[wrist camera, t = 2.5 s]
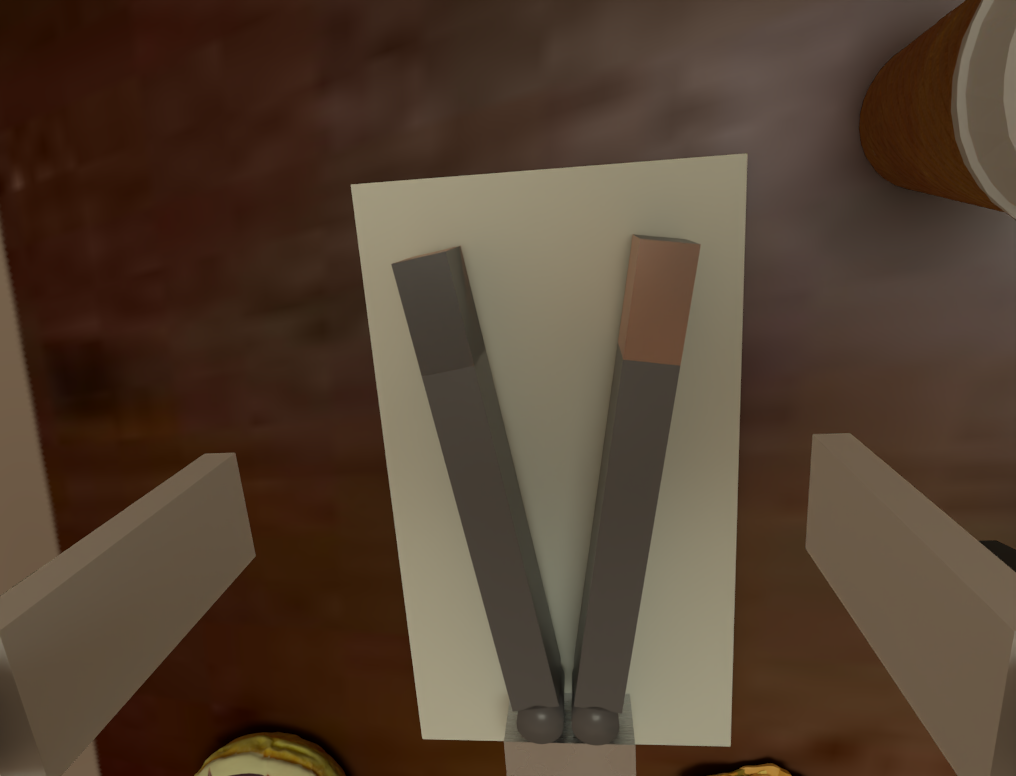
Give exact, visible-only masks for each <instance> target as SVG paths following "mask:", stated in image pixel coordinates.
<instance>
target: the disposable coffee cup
mask: <svg viewBox="0 0 1016 776" xmlns="http://www.w3.org/2000/svg"><path fill="white" fill-rule="evenodd" d="M859 131H860V138H861V144H862V147H863V150H864V153H865V155H866V158H867V159H868V160H869V162H870V163H871V165H872V166H873V168H874V169H875V171H876V172H878V173H879V174H880V175H881V176H882V177H883V178H884V179H886V180H887V181H889V182H891V183H892V184H894V185H896V186H899V187H902V188H905V189H909V190H914V191H919V192H923V193H927V194H931V195H935V196H939V197H944V198H948V199H951V200H955V201H960V202H965V203H968V204H973V205H977V206H980V207H985V208H989V209H994V210H998V211H1002V212H1006V213H1007V214H1008V215H1010V216H1011V217H1012V218H1014V219H1015V220H1016V0H966V1H964V2H963V3H962V4H961V5H959V6H958V7H957V8H955V9H954V10H953V11H951V12H950V13H948V14H947V15H946V16H945V17H943V18H942V19H940V20H939V21H938V22H937V23H936V24H935V25H934V26H932V27H931V28H930V29H929V30H927V31H926V32H924V33H923V34H922V35H921V36H919V37H918V38H917V39H916V40H914V41H913V42H912V43H910V44H909V45H908V46H907V47H905V48H904V49H903V50H901V51H900V52H899V53H897V54H896V55H895V56H893V57H892V58H891V59H890V60H889V61H888V62H887V63H886V64H885V65H884V66H883V68H882V69H881V70H880V71H879V73H878V74H877V76H876V77H875V79H874V80H873V82H872V84H871V85H870V87H869V89H868V91H867V93H866V96H865V98H864V101H863V105H862V109H861V113H860V126H859Z"/></svg>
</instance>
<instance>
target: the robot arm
mask: <svg viewBox="0 0 1016 776" xmlns="http://www.w3.org/2000/svg"><path fill="white" fill-rule="evenodd" d="M805 549H806V550H807V552H808V553H809V554H810V556H811V557H812V559H813V560H814V562H815V563H816V565H817V566H818V568H819V569H820V571H821V572H822V574H823V575H824V577H825V578H826V580H827V581H828V583H829V584H830V586H831V587H832V589H833V590H834V592H835V593H836V595H837V596H838V598H839V599H840V601H841V602H842V604H843V605H844V607H845V608H846V610H847V611H848V613H849V614H850V616H851V617H852V619H853V620H854V622H855V623H856V625H857V626H858V628H859V629H860V631H861V632H862V634H863V635H864V637H865V638H866V640H867V641H868V643H869V644H870V646H871V647H872V649H873V650H874V652H875V653H876V655H877V656H878V658H879V659H880V661H881V662H882V664H883V665H884V667H885V668H886V669H887V671H888V672H889V674H890V675H891V677H892V678H893V680H894V681H895V683H896V684H897V686H898V687H899V689H900V690H901V692H902V693H903V695H904V696H905V698H906V699H907V701H908V702H909V704H910V705H911V707H912V708H913V710H914V711H915V713H916V714H917V716H918V717H919V719H920V720H921V722H922V723H923V725H924V726H925V728H926V729H927V731H928V732H929V734H930V735H931V737H932V738H933V740H934V741H935V743H936V744H937V746H938V747H939V749H940V750H941V752H942V753H943V755H944V756H945V758H946V759H947V761H948V762H949V764H950V765H951V767H952V768H953V770H954V771H955V773H956V774H957V776H1016V550H1015V549H1013V548H1011V547H1009V546H1007V545H1004V544H1002V543H1000V542H998V541H978V540H977V539H975V538H974V537H973V536H972V535H971V534H969V533H968V532H967V531H966V530H965V529H963V528H962V527H961V526H960V525H959V524H958V523H956V522H955V521H954V520H953V519H952V518H950V517H949V516H948V515H947V514H946V513H944V512H943V511H942V510H941V509H940V508H939V507H937V506H936V505H935V504H934V503H933V502H931V501H930V500H929V499H928V498H927V497H925V496H924V495H923V494H922V493H921V492H919V491H918V490H917V489H916V488H915V487H914V486H912V485H911V484H910V483H909V482H908V481H906V480H905V479H904V478H903V477H902V476H900V475H899V474H898V473H897V472H896V471H895V470H893V469H892V468H891V467H890V466H889V465H887V464H886V463H885V462H884V461H883V460H881V459H880V458H879V457H878V456H877V455H875V454H874V453H873V452H872V451H871V450H870V449H868V448H867V447H866V446H865V445H864V444H862V443H861V442H860V441H859V440H858V439H856V438H855V437H854V436H853V435H852V434H851V433H836V434H813V435H812V451H811V467H810V483H809V499H808V515H807V531H806V547H805ZM255 556H256V555H255V550H254V545H253V540H252V535H251V530H250V525H249V520H248V515H247V510H246V505H245V500H244V495H243V490H242V485H241V480H240V475H239V470H238V465H237V460H236V455H235V453H214V454H204V455H202V456H201V457H199V458H198V459H197V460H195V461H194V462H192V463H191V464H189V465H188V466H186V467H185V468H184V469H182V470H181V471H179V472H178V473H176V474H175V475H174V476H172V477H171V478H169V479H168V480H166V481H165V482H163V483H162V484H161V485H159V486H158V487H156V488H155V489H153V490H152V491H151V492H149V493H148V494H146V495H145V496H143V497H142V498H140V499H139V500H138V501H136V502H135V503H133V504H132V505H130V506H129V507H128V508H126V509H125V510H123V511H122V512H120V513H119V514H117V515H116V516H115V517H113V518H112V519H110V520H109V521H107V522H106V523H105V524H103V525H102V526H100V527H99V528H97V529H96V530H94V531H93V532H92V533H90V534H89V535H87V536H86V537H84V538H83V539H82V540H80V541H79V542H77V543H76V544H74V545H73V546H72V547H70V548H69V549H67V550H66V551H64V552H63V553H61V554H60V555H59V556H57V557H56V558H54V559H53V560H51V561H50V562H49V563H47V564H46V565H45V566H43V567H41V568H40V569H38V570H37V571H35V572H34V573H32V574H31V575H30V576H28V577H27V578H25V579H24V580H22V581H21V582H19V583H18V584H17V585H15V586H14V587H12V588H11V589H10V590H8V591H6V592H5V593H4V594H2V595H1V596H0V774H1V776H61V775H62V774H63V773H64V772H65V771H66V770H67V769H68V768H69V767H70V766H71V764H72V763H73V762H74V761H75V760H76V759H77V758H78V756H79V755H80V754H81V753H82V752H83V751H84V750H85V749H86V747H87V746H88V745H89V744H90V743H91V742H92V741H93V739H94V738H95V737H96V736H97V735H98V734H99V733H100V732H101V730H102V729H103V728H104V727H105V726H106V725H107V724H108V723H109V721H110V720H111V719H112V718H113V717H114V716H115V715H116V713H117V712H118V711H119V710H120V709H121V708H122V707H123V706H124V704H125V703H126V702H127V701H128V700H129V699H130V698H131V696H132V695H133V694H134V693H135V692H136V691H137V690H138V689H139V687H140V686H141V685H142V684H143V683H144V682H145V681H146V679H147V678H148V677H149V676H150V675H151V674H152V673H153V672H154V670H155V669H156V668H157V667H158V666H159V665H160V664H161V663H162V661H163V660H164V659H165V658H166V657H167V656H168V655H169V653H170V652H171V651H172V650H173V649H174V648H175V647H176V646H177V644H178V643H179V642H180V641H181V640H182V639H183V638H184V636H185V635H186V634H187V633H188V632H189V631H190V630H191V629H192V627H193V626H194V625H195V624H196V623H197V622H198V621H199V619H200V618H201V617H202V616H203V615H204V614H205V613H206V612H207V610H208V609H209V608H210V607H211V606H212V605H213V604H214V603H215V601H216V600H217V599H218V598H219V597H220V596H221V595H222V593H223V592H224V591H225V590H226V589H227V588H228V587H229V586H230V584H231V583H232V582H233V581H234V580H235V579H236V578H237V576H238V575H239V574H240V573H241V572H242V571H243V570H244V569H245V567H246V566H247V565H248V564H249V563H250V562H251V561H252V559H253V558H254V557H255Z"/></svg>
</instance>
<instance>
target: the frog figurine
mask: <svg viewBox="0 0 1016 776" xmlns="http://www.w3.org/2000/svg"><path fill="white" fill-rule="evenodd" d="M707 776H792V775H791V774H790V772H788V771H787V770H785V769H782V768H781V767H779V766H777V765H775V764H773V763H767V764H762V765H757V766H743V767H741V768H739V769H738V770H735V771H732V772H729V773H720V774H716V775H707Z"/></svg>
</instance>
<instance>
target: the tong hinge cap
mask: <svg viewBox="0 0 1016 776" xmlns="http://www.w3.org/2000/svg"><path fill="white" fill-rule="evenodd" d="M517 714H518V711H514V712H513V711H512V707H511V703H510V700H509V708H508V715H507V723H506V730H505V738H504V748H505V760H506V771H507V776H636V753H635V737H634V728H633V719H632V710H631V700H630V694H625V698H624V704H623V710H622V714H621V713H618V716H619V732H618V735H617V736H616V738H615V739H614V740H612V741H611V742H609V743H607V744H604V745H597V746H595V745H589V744H586V743H584V742H582V741H580V740H579V739H578V738H577V737H576V736H575V735H574V733H573V731H572V726H571V716H572V693H564V728H563V732H562V734H561V736H560V737H559V738H558V739H557V740H555V741H554V742H551V743H548V744H536V743H532V742H530V741H528V740H526V739H525V738H524V737H522V735H521V734H520V733H519V731H518V729H517V723H516V722H517Z"/></svg>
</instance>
